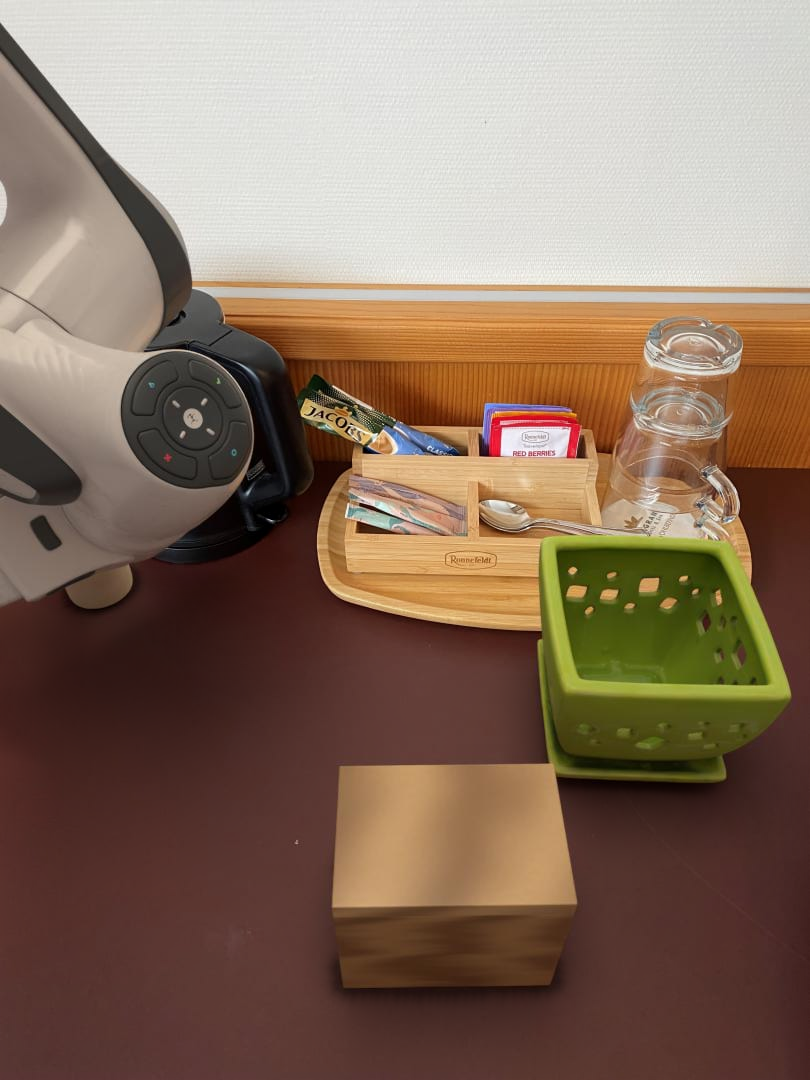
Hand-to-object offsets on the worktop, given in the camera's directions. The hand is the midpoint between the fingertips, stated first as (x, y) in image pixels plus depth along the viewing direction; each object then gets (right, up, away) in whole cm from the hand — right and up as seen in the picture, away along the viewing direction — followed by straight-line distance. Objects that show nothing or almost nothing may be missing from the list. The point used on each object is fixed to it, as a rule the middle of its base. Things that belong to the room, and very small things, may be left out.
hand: (89, 535), depth 64 cm
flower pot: (+42, -14, -5) cm, 44 cm away
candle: (-1, -5, +6) cm, 7 cm away
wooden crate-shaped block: (+28, -24, -15) cm, 40 cm away
